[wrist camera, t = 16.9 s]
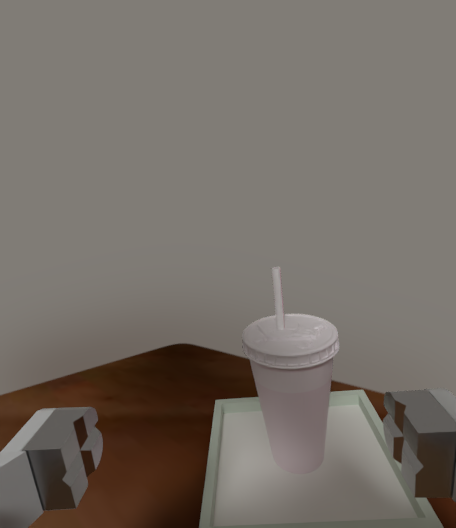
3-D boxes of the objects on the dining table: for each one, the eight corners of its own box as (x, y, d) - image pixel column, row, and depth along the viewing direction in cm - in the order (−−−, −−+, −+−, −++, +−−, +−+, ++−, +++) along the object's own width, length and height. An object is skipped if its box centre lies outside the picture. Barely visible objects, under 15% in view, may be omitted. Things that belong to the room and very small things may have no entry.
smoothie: (276, 413, 29) (262, 256, 25) (353, 437, 25) (348, 257, 22) (238, 469, 23) (214, 279, 20) (328, 508, 20) (317, 286, 17)
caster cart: (206, 592, 19) (197, 537, 18) (220, 437, 31) (215, 399, 30) (441, 585, 18) (444, 528, 17) (363, 428, 30) (363, 389, 29)
